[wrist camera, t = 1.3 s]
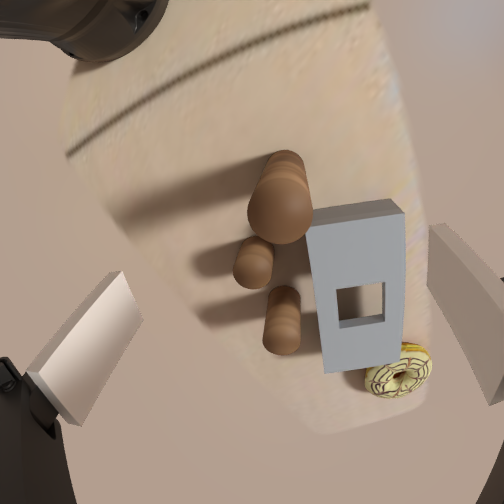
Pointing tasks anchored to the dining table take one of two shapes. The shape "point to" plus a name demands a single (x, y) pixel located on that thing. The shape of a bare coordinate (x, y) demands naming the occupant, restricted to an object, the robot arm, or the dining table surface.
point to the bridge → (358, 281)
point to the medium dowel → (282, 321)
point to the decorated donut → (400, 373)
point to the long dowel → (281, 200)
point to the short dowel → (254, 263)
